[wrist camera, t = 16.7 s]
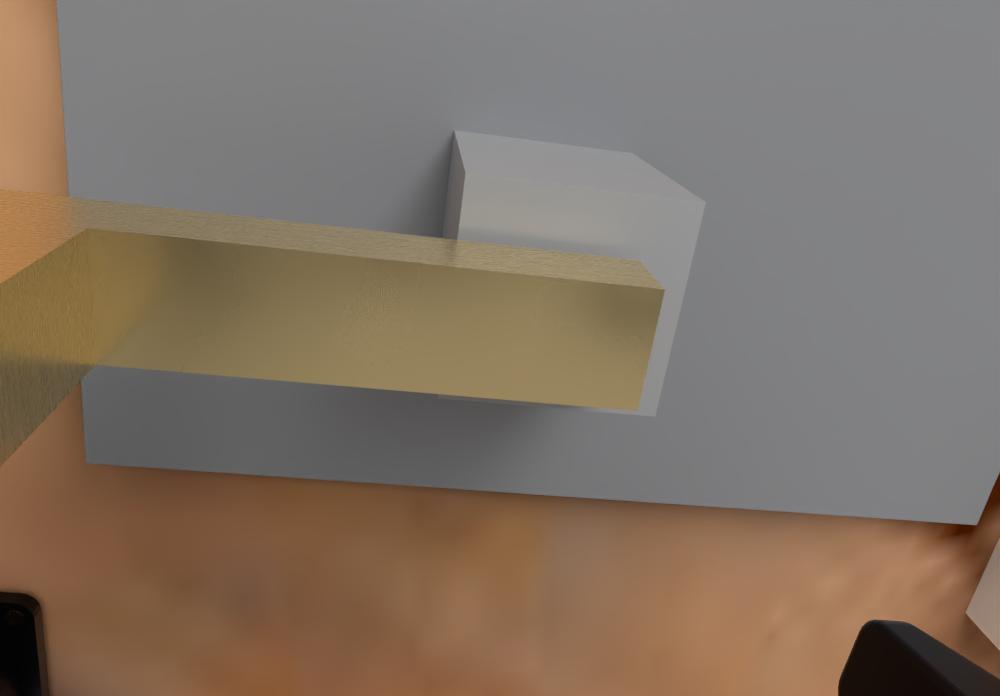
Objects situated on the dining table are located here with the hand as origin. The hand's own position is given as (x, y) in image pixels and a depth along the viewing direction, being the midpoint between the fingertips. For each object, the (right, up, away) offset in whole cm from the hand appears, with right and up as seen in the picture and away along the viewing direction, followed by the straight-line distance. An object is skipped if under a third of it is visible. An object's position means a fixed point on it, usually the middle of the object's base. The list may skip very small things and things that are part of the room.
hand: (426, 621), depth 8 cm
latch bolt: (-3, +4, +5) cm, 7 cm away
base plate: (+3, +5, +12) cm, 13 cm away
